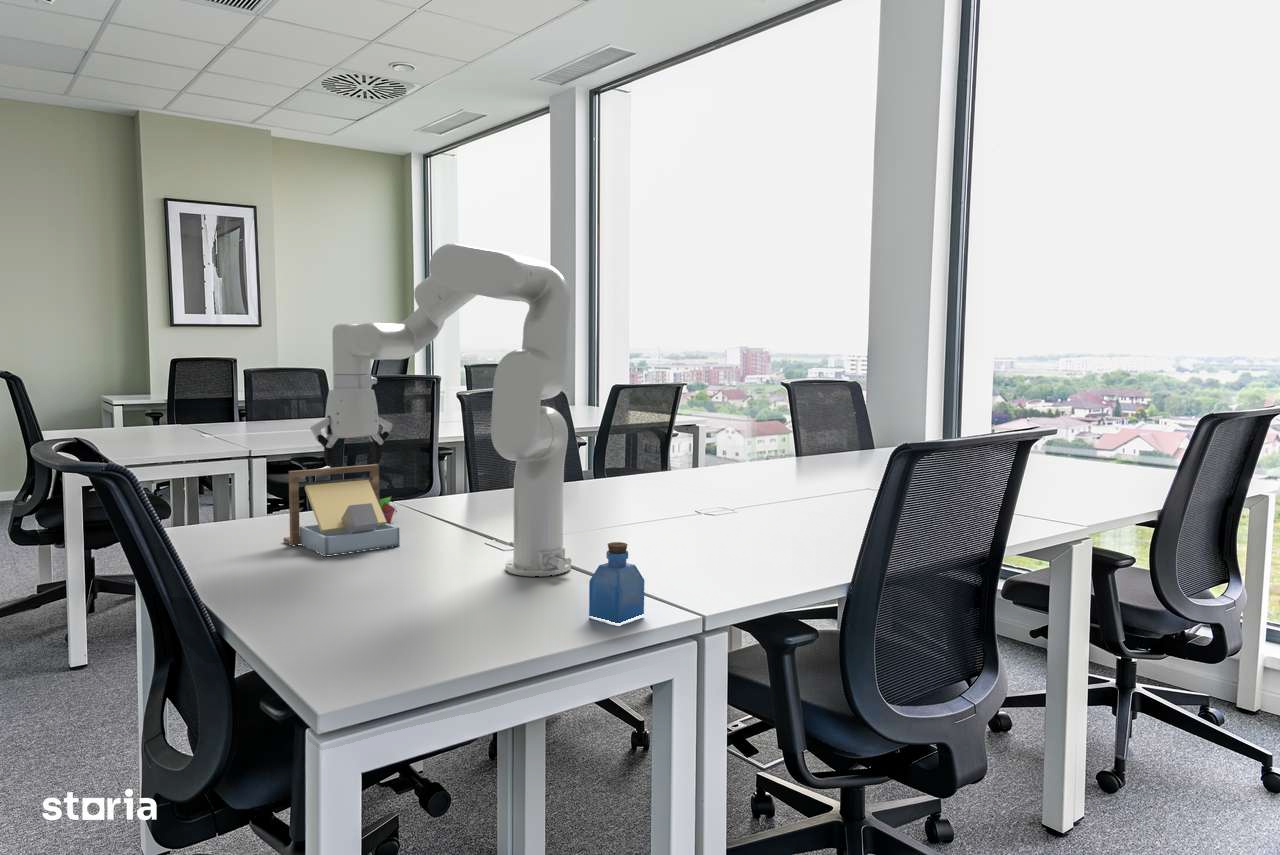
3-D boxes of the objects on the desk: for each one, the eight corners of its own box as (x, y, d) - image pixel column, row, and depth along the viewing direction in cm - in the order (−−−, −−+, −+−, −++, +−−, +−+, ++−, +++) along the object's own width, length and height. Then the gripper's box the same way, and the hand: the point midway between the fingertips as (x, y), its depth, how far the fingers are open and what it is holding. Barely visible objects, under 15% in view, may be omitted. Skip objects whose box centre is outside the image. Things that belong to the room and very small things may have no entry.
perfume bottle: (614, 610, 141) (615, 538, 139) (643, 618, 137) (645, 544, 136) (589, 618, 136) (589, 544, 135) (618, 627, 132) (619, 550, 131)
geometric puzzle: (408, 513, 209) (392, 486, 210) (390, 518, 202) (373, 490, 204) (389, 529, 211) (373, 502, 213) (371, 534, 205) (354, 506, 206)
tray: (399, 546, 184) (399, 527, 183) (325, 557, 173) (325, 537, 173) (371, 535, 194) (371, 517, 194) (300, 545, 183) (299, 526, 183)
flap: (385, 524, 186) (386, 521, 185) (321, 532, 177) (322, 529, 176) (367, 482, 192) (368, 479, 191) (304, 488, 182) (305, 485, 182)
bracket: (380, 534, 194) (379, 465, 193) (293, 546, 182) (291, 472, 180) (369, 530, 199) (368, 462, 197) (283, 542, 186) (282, 469, 184)
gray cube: (370, 535, 181) (378, 523, 178) (348, 538, 178) (355, 525, 175) (364, 515, 183) (371, 503, 180) (341, 518, 180) (348, 505, 177)
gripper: (383, 382, 187) (384, 459, 189) (303, 383, 176) (305, 465, 177) (399, 383, 182) (399, 463, 183) (317, 384, 170) (319, 469, 172)
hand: (353, 464), depth 180 cm, fingers open, 9 cm apart
